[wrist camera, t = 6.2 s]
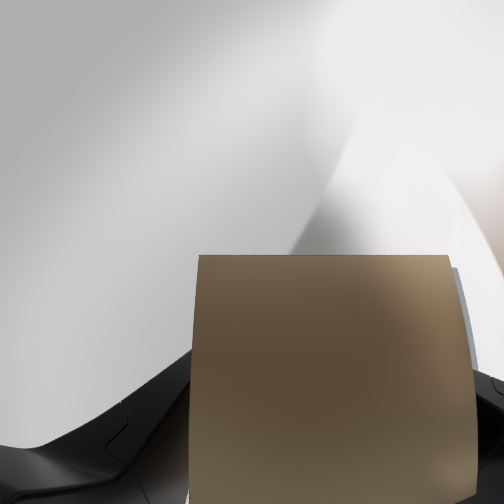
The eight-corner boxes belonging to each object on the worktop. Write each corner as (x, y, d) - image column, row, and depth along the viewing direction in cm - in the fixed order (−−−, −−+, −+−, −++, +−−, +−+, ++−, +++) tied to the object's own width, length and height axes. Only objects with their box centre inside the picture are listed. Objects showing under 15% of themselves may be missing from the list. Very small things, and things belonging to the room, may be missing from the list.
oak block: (326, 451, 14) (475, 494, 3) (232, 454, 14) (190, 541, 3) (323, 365, 16) (447, 254, 6) (233, 367, 16) (199, 254, 6)
